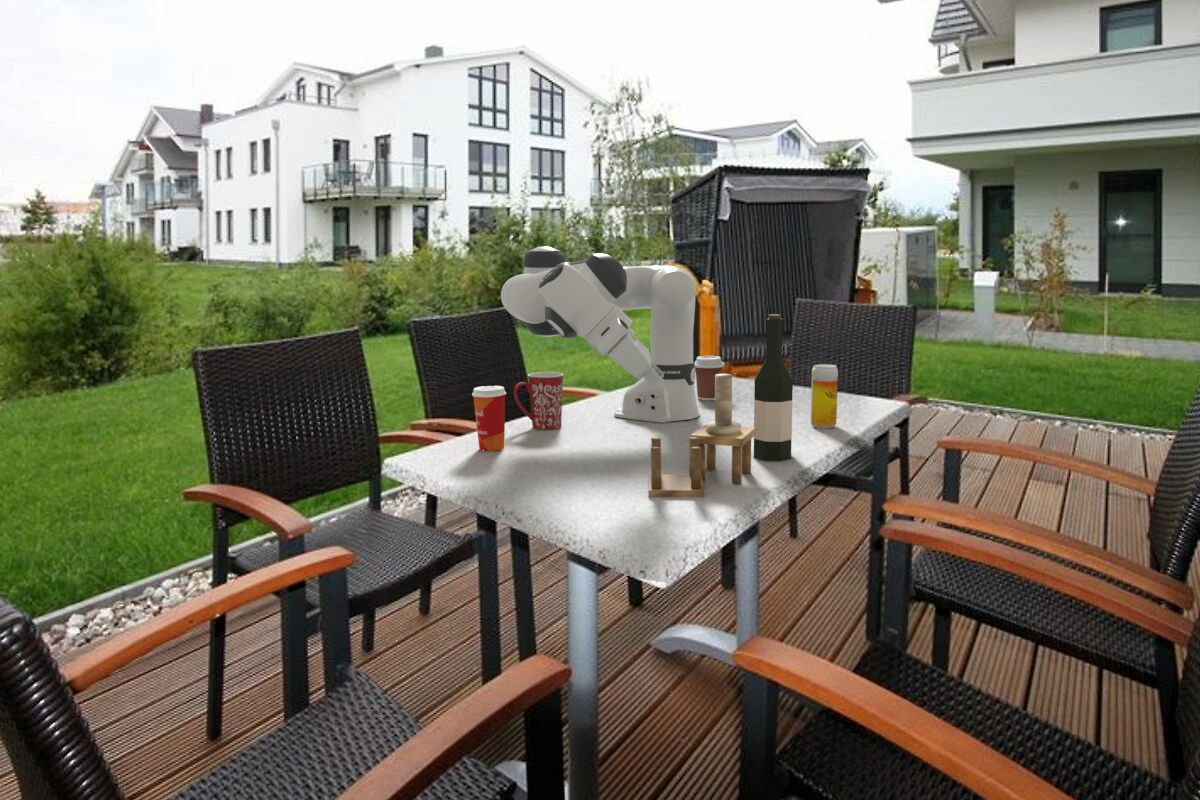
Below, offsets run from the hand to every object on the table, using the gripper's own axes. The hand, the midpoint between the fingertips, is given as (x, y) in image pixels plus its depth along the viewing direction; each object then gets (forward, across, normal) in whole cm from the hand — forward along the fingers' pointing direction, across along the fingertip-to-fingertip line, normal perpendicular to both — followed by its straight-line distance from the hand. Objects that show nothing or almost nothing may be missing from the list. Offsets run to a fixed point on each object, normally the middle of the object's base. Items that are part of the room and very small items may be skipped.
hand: (662, 382), depth 155 cm
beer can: (+42, -41, +15) cm, 61 cm away
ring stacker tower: (+15, 0, +1) cm, 15 cm away
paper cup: (-13, -24, -40) cm, 49 cm away
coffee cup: (+25, -80, -2) cm, 83 cm away
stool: (+22, 0, -5) cm, 22 cm away
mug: (-7, -45, -34) cm, 57 cm away
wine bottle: (+30, -14, +3) cm, 34 cm away
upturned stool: (+15, +8, -12) cm, 21 cm away
